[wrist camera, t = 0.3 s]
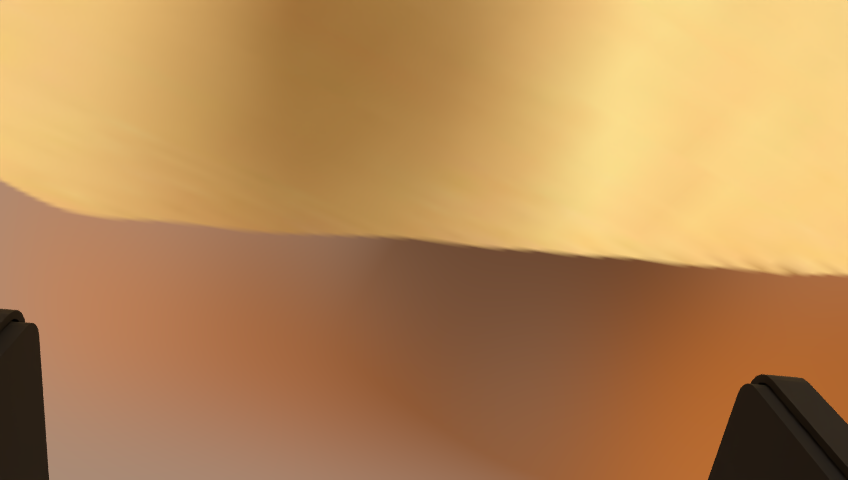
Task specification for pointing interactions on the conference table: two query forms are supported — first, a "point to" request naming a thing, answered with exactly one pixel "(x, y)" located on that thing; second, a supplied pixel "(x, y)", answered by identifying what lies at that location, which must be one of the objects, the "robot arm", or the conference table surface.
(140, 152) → the conference table surface
